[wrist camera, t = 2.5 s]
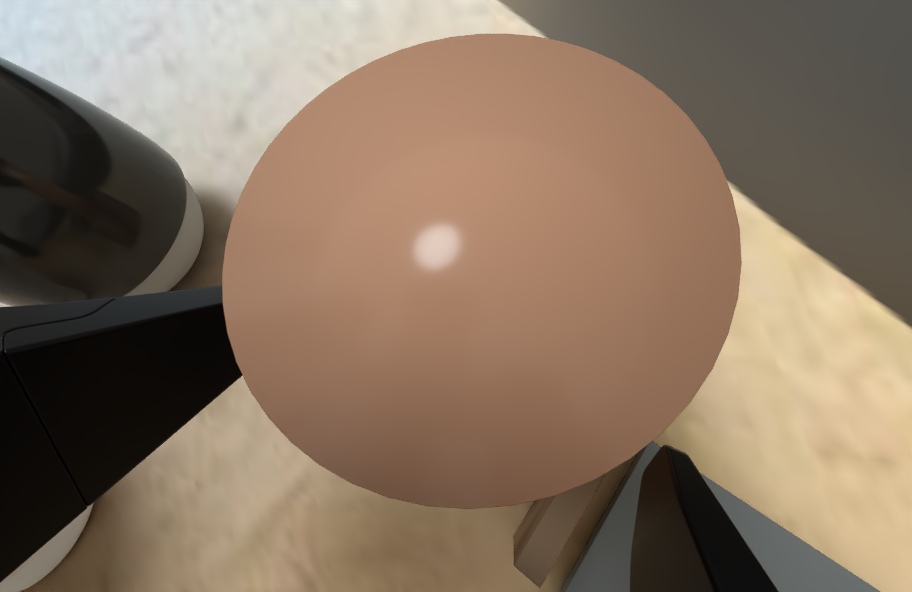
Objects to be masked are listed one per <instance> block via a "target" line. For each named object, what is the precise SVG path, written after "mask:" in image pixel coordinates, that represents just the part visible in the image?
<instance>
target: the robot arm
mask: <svg viewBox="0 0 912 592" xmlns="http://www.w3.org/2000/svg"><path fill="white" fill-rule="evenodd" d="M241 376H242V373H241V370H240V368H239V366H238V364H237V362H236V359H235V356H234V352H233V349H232V346H231V343H230V339H229V336H228V333H227V327H226V321H225V314H224V308H223V291H222V286H214V287H205V288H196V289H187V290H178V291H168V292H159V293H150V294H141V295H132V296H123V297H118V298H114V297H113V298H104V299H95V300H85V301H75V302H65V303H52V304H40V305H27V306H13V307H0V583H1V582H2V581H3V580H4V579H5V578H7V577H8V576H9V575H10V574H11V573H12V572H14V571H15V570H16V569H17V568H18V567H19V566H21V565H22V564H23V563H24V562H25V561H26V560H28V559H29V558H30V557H31V556H32V555H33V554H35V553H36V552H37V551H38V550H39V549H40V548H42V547H43V546H44V545H45V544H46V543H47V542H49V541H50V540H51V539H52V538H53V537H54V536H56V535H57V534H58V533H59V532H60V531H61V530H63V529H64V528H65V527H66V526H67V525H68V524H70V523H71V522H72V521H73V520H74V519H75V518H77V517H78V516H79V515H80V514H81V513H82V512H84V511H85V510H86V509H87V508H88V506H90V505H91V504H93V503H94V502H95V501H96V500H97V499H98V498H100V497H101V496H102V495H103V494H104V493H105V492H107V491H108V490H109V489H110V488H111V487H112V486H114V485H115V484H116V483H117V482H118V481H119V480H121V479H122V478H123V477H124V476H125V475H126V474H128V473H129V472H130V471H131V470H132V469H133V468H135V467H136V466H137V465H138V464H139V463H140V462H142V461H143V460H144V459H145V458H146V457H148V456H149V455H150V454H151V453H152V452H153V451H155V450H156V449H157V448H158V447H159V446H160V445H162V444H163V443H164V442H165V441H166V440H167V439H169V438H170V437H171V436H172V435H173V434H174V433H176V432H177V431H178V430H179V429H180V428H181V427H183V426H184V425H185V424H186V423H187V422H188V421H190V420H191V419H192V418H193V417H194V416H195V415H197V414H198V413H199V412H200V411H201V410H202V409H204V408H205V407H206V406H207V405H208V404H209V403H211V402H212V401H213V400H214V399H215V398H216V397H218V396H219V395H220V394H221V393H222V392H223V391H225V390H226V389H227V388H228V387H229V386H231V385H232V384H233V383H234V382H235V381H236V380H238V379H239V378H240V377H241ZM630 592H779V591H778V589H777V588H776V586H775V585H774V583H773V582H772V580H771V579H770V577H769V576H768V574H767V573H766V571H765V570H764V568H763V567H762V565H761V564H760V562H759V561H758V559H757V558H756V556H755V555H754V553H753V552H752V550H751V549H750V547H749V546H748V544H747V543H746V541H745V540H744V538H743V537H742V535H741V534H740V532H739V531H738V529H737V528H736V526H735V525H734V523H733V522H732V520H731V519H730V517H729V516H728V514H727V513H726V511H725V510H724V508H723V507H722V505H721V504H720V502H719V501H718V499H717V498H716V496H715V495H714V493H713V492H712V490H711V489H710V487H709V486H708V484H707V483H706V481H705V480H704V478H703V477H702V475H701V474H700V472H699V471H698V469H697V468H696V466H695V465H694V463H693V462H692V460H691V459H690V457H689V456H688V455H687V454H686V453H684V452H682V451H680V450H678V449H675V448H673V447H671V446H669V445H664V446H662V447H661V448H660V449H659V450H658V452H657V453H656V455H655V456H654V457H653V459H652V460H651V461H650V463H649V464H648V465H647V467H646V468H645V470H644V472H643V475H642V478H641V484H640V491H639V498H638V505H637V512H636V519H635V526H634V533H633V540H632V548H631V562H630Z"/></svg>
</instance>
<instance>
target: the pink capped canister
mask: <svg viewBox="0 0 912 592" xmlns="http://www.w3.org/2000/svg"><path fill="white" fill-rule="evenodd" d="M740 272H741V246H740V229H739V224H738V219H737V215H736V210H735V206H734V201H733V197H732V194H731V191H730V189H729V186H728V183H727V181H726V178H725V176H724V173H723V171H722V168H721V166H720V164H719V162H718V160H717V159H716V157H715V155H714V153H713V152H712V150H711V148H710V146H709V145H708V143H707V141H706V140H705V138H704V137H703V135H702V134H701V133H700V132H699V130H698V129H697V128H696V126H695V125H694V124H693V123H692V121H691V120H690V119H689V117H688V116H687V115H686V114H685V113H684V112H683V111H682V110H681V109H680V108H679V107H678V106H677V105H676V104H675V103H674V102H673V101H672V100H671V99H670V98H669V97H668V96H667V95H666V94H665V93H663V92H662V91H661V90H659V89H658V88H657V87H655V86H654V85H653V84H651V83H650V82H649V81H647V80H646V79H645V78H643V77H642V76H641V75H639V74H637V73H635V72H634V71H632V70H630V69H628V68H627V67H625V66H623V65H622V64H620V63H618V62H616V61H614V60H612V59H610V58H607V57H605V56H603V55H600V54H598V53H596V52H593V51H591V50H588V49H585V48H582V47H578V46H575V45H572V44H569V43H565V42H562V41H557V40H552V39H546V38H541V37H536V36H526V35H515V34H475V35H466V36H457V37H450V38H445V39H440V40H435V41H430V42H426V43H422V44H419V45H415V46H412V47H409V48H406V49H402V50H399V51H397V52H394V53H392V54H389V55H387V56H384V57H382V58H380V59H377V60H375V61H373V62H371V63H369V64H367V65H365V66H363V67H361V68H359V69H357V70H356V71H354V72H352V73H350V74H348V75H347V76H345V77H344V78H342V79H341V80H339V81H338V82H336V83H335V84H333V85H332V86H330V87H329V88H327V89H326V90H325V91H323V92H322V93H321V94H320V95H318V96H317V97H316V98H315V99H313V100H312V101H311V102H310V103H308V104H307V105H306V106H305V107H304V108H303V109H302V110H301V111H300V112H299V113H298V114H297V115H296V116H295V117H294V118H293V119H292V120H291V121H290V122H289V123H288V124H287V125H286V126H285V127H284V128H283V129H282V131H281V132H280V133H279V134H278V136H277V137H276V138H275V139H274V140H273V142H272V143H271V144H270V145H269V147H268V148H267V150H266V151H265V153H264V154H263V156H262V157H261V159H260V160H259V162H258V163H257V165H256V166H255V168H254V170H253V172H252V174H251V176H250V177H249V179H248V181H247V183H246V185H245V187H244V189H243V191H242V193H241V196H240V199H239V201H238V204H237V207H236V209H235V212H234V215H233V217H232V221H231V225H230V229H229V233H228V237H227V241H226V245H225V254H224V262H223V271H222V291H223V308H224V314H225V321H226V327H227V333H228V336H229V339H230V343H231V346H232V349H233V352H234V356H235V359H236V362H237V364H238V366H239V368H240V370H241V373H242V375H243V377H244V379H245V381H246V383H247V385H248V387H249V389H250V391H251V393H252V394H253V396H254V397H255V398H256V400H257V401H258V403H259V404H260V406H261V407H262V409H263V410H264V412H265V413H266V415H267V416H268V418H269V419H270V420H271V421H272V422H273V423H274V424H275V425H276V426H277V427H278V428H279V430H280V431H281V432H282V433H283V434H284V435H285V436H286V437H287V438H288V439H289V440H290V441H291V443H293V444H294V445H295V446H296V447H298V448H299V449H300V450H301V451H303V452H304V453H305V454H306V455H308V456H309V457H310V458H311V459H313V460H314V461H315V462H317V463H318V464H319V465H321V466H322V467H324V468H326V469H328V470H329V471H331V472H333V473H335V474H336V475H338V476H340V477H342V478H343V479H345V480H347V481H349V482H350V483H352V484H355V485H357V486H360V487H362V488H365V489H368V490H370V491H373V492H375V493H378V494H381V495H383V496H386V497H388V498H393V499H397V500H402V501H406V502H411V503H416V504H420V505H425V506H433V507H447V508H462V509H475V508H487V507H500V506H512V505H516V504H520V503H525V502H529V501H533V500H537V499H542V498H546V497H550V496H554V495H557V494H559V493H562V492H564V491H567V490H569V489H572V488H574V487H577V486H579V485H582V484H584V483H587V482H589V481H592V480H594V479H596V478H598V477H599V476H601V475H603V474H604V473H606V472H608V471H610V470H611V469H613V468H615V467H616V466H618V465H620V464H622V463H623V462H625V461H627V460H629V459H630V458H631V457H633V456H634V455H635V454H636V453H638V452H639V451H640V450H641V449H643V448H644V447H645V446H646V445H648V444H649V443H650V442H651V441H653V440H654V439H655V438H656V437H658V436H659V435H660V434H661V433H663V432H664V430H665V429H666V428H667V427H668V426H669V425H670V424H671V423H672V422H673V421H674V420H675V418H676V417H677V416H678V415H679V414H680V413H681V412H682V411H683V410H684V409H685V407H686V406H687V405H688V404H689V403H690V402H691V401H692V399H693V397H694V396H695V394H696V393H697V391H698V390H699V388H700V387H701V385H702V384H703V382H704V381H705V379H706V378H707V376H708V375H709V373H710V372H711V370H712V369H713V366H714V364H715V362H716V360H717V358H718V355H719V353H720V351H721V349H722V346H723V344H724V342H725V340H726V338H727V335H728V333H729V329H730V325H731V322H732V318H733V314H734V311H735V307H736V303H737V299H738V292H739V282H740Z"/></svg>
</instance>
